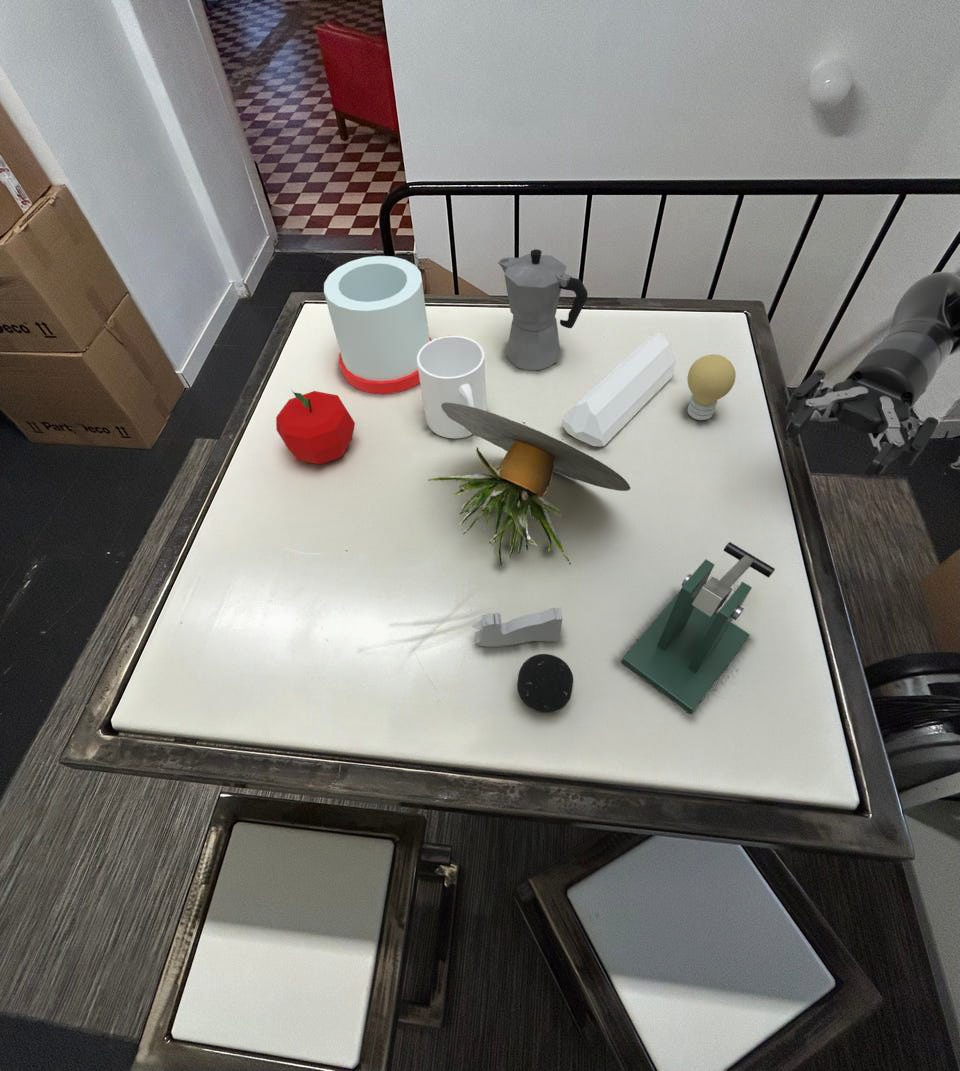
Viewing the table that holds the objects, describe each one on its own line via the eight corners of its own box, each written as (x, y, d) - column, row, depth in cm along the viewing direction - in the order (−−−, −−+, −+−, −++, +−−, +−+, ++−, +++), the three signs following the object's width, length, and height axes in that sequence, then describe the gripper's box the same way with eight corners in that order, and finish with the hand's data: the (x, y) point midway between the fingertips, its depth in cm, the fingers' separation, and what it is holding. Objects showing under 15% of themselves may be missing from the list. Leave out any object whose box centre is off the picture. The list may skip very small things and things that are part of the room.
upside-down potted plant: (435, 509, 93) (354, 513, 69) (485, 403, 90) (419, 368, 66) (581, 590, 87) (548, 624, 63) (641, 479, 84) (629, 471, 60)
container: (455, 354, 104) (447, 273, 92) (392, 407, 97) (375, 326, 85) (385, 323, 110) (370, 243, 98) (321, 370, 103) (297, 290, 91)
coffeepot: (484, 356, 103) (480, 253, 89) (515, 327, 108) (515, 225, 93) (564, 388, 98) (573, 283, 83) (592, 356, 102) (606, 252, 87)
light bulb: (689, 432, 90) (706, 378, 82) (670, 405, 94) (685, 350, 86) (729, 423, 91) (749, 369, 83) (708, 396, 95) (726, 341, 87)
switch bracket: (679, 594, 74) (708, 525, 63) (747, 639, 70) (790, 573, 59) (620, 662, 69) (641, 600, 58) (690, 714, 65) (726, 658, 54)
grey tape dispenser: (558, 642, 71) (473, 649, 71) (557, 631, 72) (472, 638, 72) (562, 618, 67) (471, 625, 66) (560, 607, 67) (470, 614, 67)
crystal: (609, 444, 84) (694, 356, 95) (573, 406, 84) (663, 322, 94) (582, 464, 91) (665, 380, 101) (549, 429, 91) (636, 348, 101)
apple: (373, 443, 92) (360, 391, 84) (319, 485, 87) (300, 434, 79) (326, 414, 96) (310, 361, 88) (273, 452, 92) (250, 401, 84)
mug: (461, 390, 98) (456, 327, 89) (510, 429, 92) (510, 366, 83) (414, 417, 95) (403, 355, 86) (461, 459, 89) (455, 397, 80)
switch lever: (723, 552, 70) (733, 536, 69) (768, 579, 68) (779, 563, 67) (676, 595, 61) (687, 577, 60) (726, 627, 59) (738, 609, 57)
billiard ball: (522, 664, 70) (522, 640, 65) (574, 674, 69) (579, 650, 64) (512, 714, 66) (512, 693, 61) (567, 725, 65) (571, 705, 60)
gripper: (845, 326, 72) (780, 395, 66) (976, 375, 66) (918, 457, 60) (820, 377, 78) (758, 445, 72) (937, 427, 72) (881, 507, 66)
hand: (830, 451), depth 66 cm, fingers open, 8 cm apart
